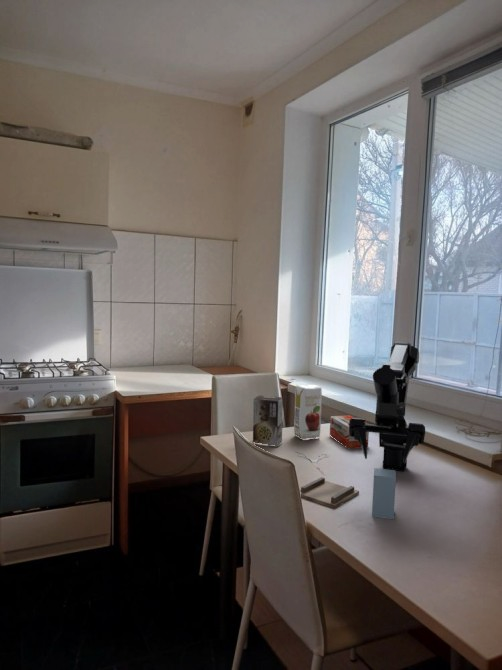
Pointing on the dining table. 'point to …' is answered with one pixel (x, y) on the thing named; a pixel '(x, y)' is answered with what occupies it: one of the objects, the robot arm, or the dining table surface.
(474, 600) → the dining table surface
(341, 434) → the medicine box
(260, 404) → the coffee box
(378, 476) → the slate-blue block
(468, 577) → the dining table surface
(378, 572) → the dining table surface
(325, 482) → the walnut groove board
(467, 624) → the dining table surface
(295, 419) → the juice carton
